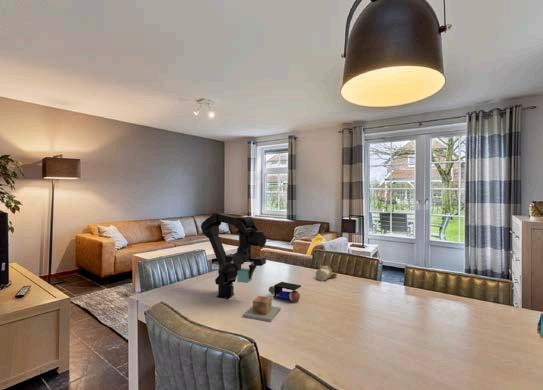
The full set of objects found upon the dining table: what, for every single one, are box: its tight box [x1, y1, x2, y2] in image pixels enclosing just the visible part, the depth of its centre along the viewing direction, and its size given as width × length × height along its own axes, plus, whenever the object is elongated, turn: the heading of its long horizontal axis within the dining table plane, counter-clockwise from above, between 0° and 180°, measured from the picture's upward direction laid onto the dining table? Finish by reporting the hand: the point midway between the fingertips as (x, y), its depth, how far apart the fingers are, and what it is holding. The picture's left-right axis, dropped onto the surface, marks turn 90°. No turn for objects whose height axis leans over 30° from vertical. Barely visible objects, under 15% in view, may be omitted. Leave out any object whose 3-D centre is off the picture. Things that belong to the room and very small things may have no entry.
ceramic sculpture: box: [315, 264, 338, 282], centre depth 168 cm, size 11×9×15 cm
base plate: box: [242, 305, 282, 323], centre depth 119 cm, size 12×12×1 cm
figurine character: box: [268, 281, 302, 303], centre depth 135 cm, size 7×8×15 cm
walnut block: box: [252, 295, 272, 315], centre depth 119 cm, size 6×6×5 cm
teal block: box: [236, 267, 253, 284], centre depth 130 cm, size 5×5×5 cm
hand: (244, 278), depth 130 cm, fingers closed on teal block, 5 cm apart
